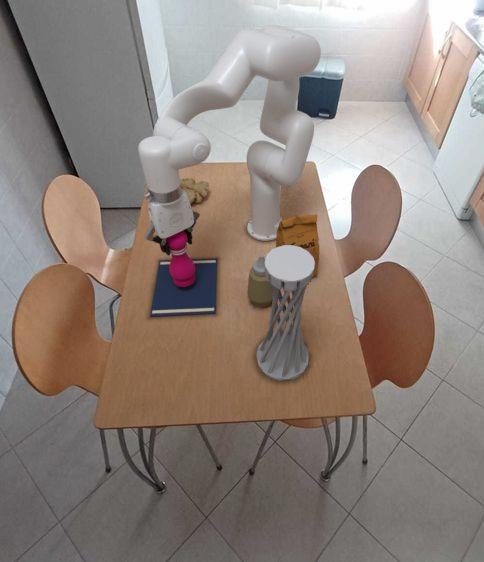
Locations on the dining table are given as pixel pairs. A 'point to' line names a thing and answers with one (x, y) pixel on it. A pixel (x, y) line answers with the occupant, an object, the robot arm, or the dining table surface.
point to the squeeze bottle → (259, 284)
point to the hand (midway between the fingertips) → (177, 246)
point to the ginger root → (194, 189)
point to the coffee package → (300, 235)
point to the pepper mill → (180, 260)
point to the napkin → (186, 291)
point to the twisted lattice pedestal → (286, 313)
